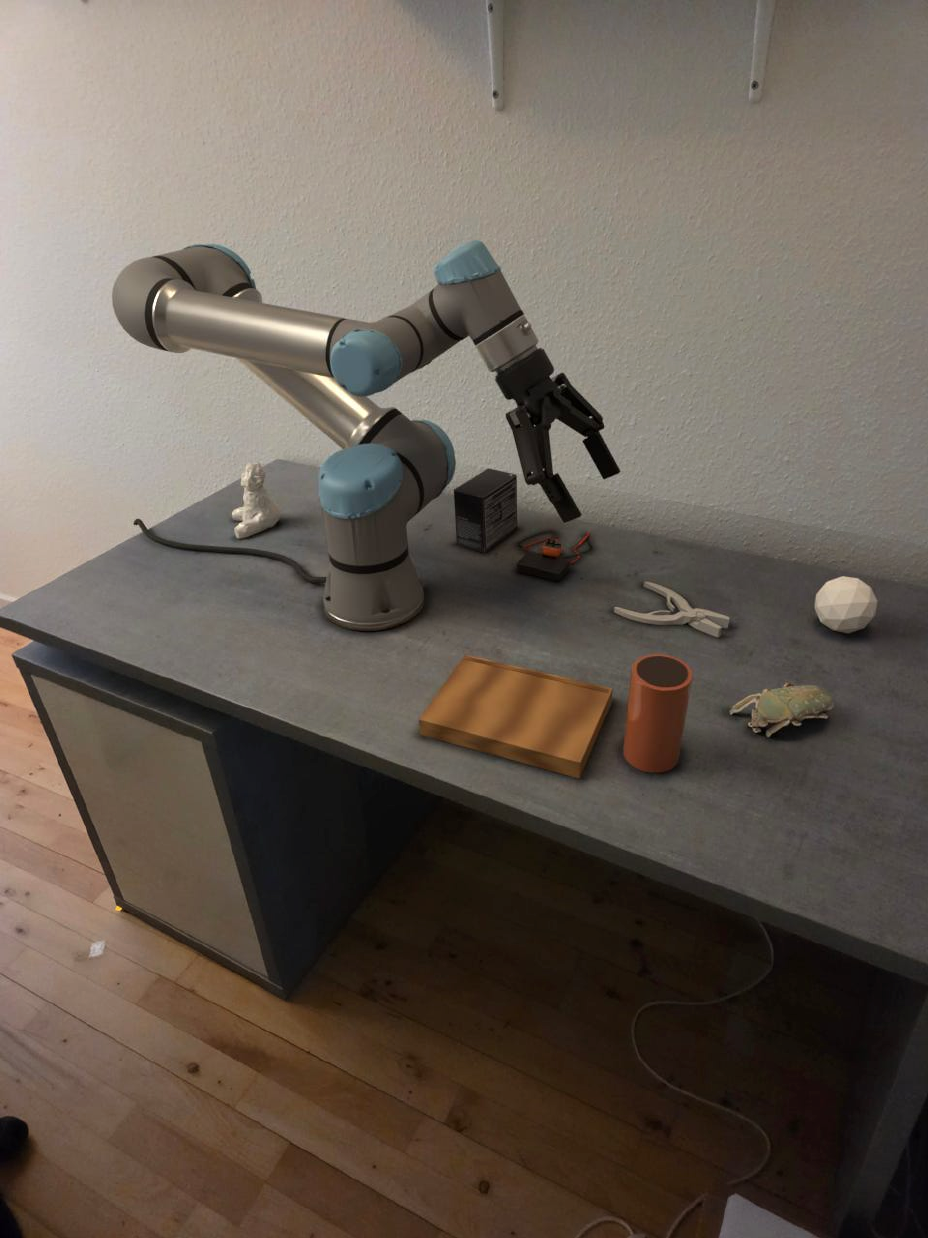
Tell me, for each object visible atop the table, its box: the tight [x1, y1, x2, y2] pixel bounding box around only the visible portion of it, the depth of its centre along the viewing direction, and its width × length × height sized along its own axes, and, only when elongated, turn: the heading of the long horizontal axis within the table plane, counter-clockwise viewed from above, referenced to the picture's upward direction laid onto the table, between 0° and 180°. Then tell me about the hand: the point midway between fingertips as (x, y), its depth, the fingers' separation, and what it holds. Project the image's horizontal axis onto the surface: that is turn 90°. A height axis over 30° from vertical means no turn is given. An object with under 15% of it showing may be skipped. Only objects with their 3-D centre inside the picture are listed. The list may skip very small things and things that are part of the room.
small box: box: [453, 467, 519, 554], centre depth 134 cm, size 11×6×10 cm, turn 144°
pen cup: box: [622, 653, 693, 774], centre depth 88 cm, size 6×6×12 cm
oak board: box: [418, 654, 614, 779], centre depth 97 cm, size 20×14×3 cm
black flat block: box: [516, 530, 594, 582], centre depth 131 cm, size 18×12×3 cm, turn 145°
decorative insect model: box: [728, 682, 835, 738], centre depth 95 cm, size 9×11×5 cm
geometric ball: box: [814, 575, 878, 634], centre depth 109 cm, size 8×8×8 cm
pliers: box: [613, 581, 731, 638], centre depth 115 cm, size 10×2×15 cm
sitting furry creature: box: [231, 461, 281, 539], centre depth 141 cm, size 10×9×12 cm
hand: (593, 496), depth 110 cm, fingers open, 13 cm apart
